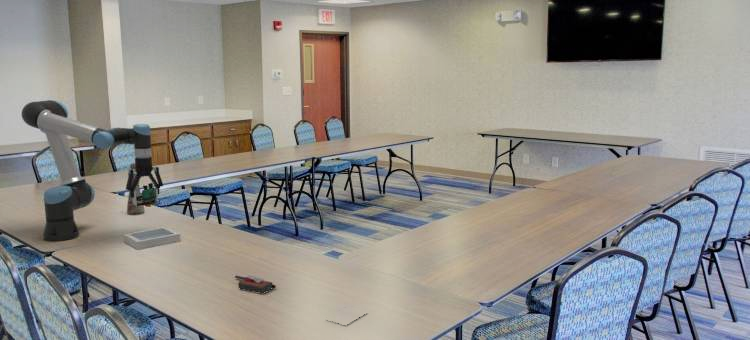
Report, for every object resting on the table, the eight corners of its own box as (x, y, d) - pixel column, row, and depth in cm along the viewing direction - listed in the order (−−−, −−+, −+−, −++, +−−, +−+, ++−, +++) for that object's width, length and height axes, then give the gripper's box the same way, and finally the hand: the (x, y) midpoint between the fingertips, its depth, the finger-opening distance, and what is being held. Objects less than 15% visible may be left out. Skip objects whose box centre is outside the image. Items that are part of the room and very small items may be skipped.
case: (123, 241, 276) (123, 234, 276) (165, 233, 290) (165, 226, 289) (137, 249, 265) (137, 242, 264) (180, 240, 278) (180, 233, 278)
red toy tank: (279, 288, 222) (237, 279, 231) (279, 276, 222) (237, 268, 231) (265, 296, 215) (221, 286, 224) (264, 284, 214) (221, 275, 223)
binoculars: (139, 183, 292) (157, 182, 290) (142, 204, 294) (160, 203, 291) (128, 186, 283) (146, 185, 281) (131, 208, 285) (149, 207, 283)
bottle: (141, 215, 324) (138, 164, 319) (124, 215, 324) (121, 164, 319) (147, 211, 333) (144, 161, 328) (131, 211, 333) (128, 161, 328)
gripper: (122, 160, 274) (125, 207, 278) (169, 155, 289) (171, 200, 293) (116, 158, 280) (118, 204, 283) (162, 153, 295) (164, 198, 299)
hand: (145, 202), depth 288 cm, fingers closed on binoculars, 10 cm apart
